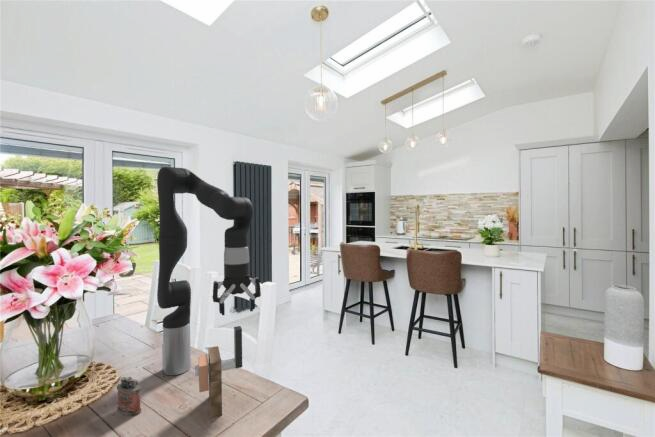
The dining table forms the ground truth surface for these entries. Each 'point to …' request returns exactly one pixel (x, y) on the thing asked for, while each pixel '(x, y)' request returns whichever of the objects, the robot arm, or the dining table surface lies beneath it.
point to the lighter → (129, 397)
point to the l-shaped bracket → (237, 359)
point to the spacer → (203, 373)
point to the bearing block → (215, 382)
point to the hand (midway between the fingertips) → (237, 312)
